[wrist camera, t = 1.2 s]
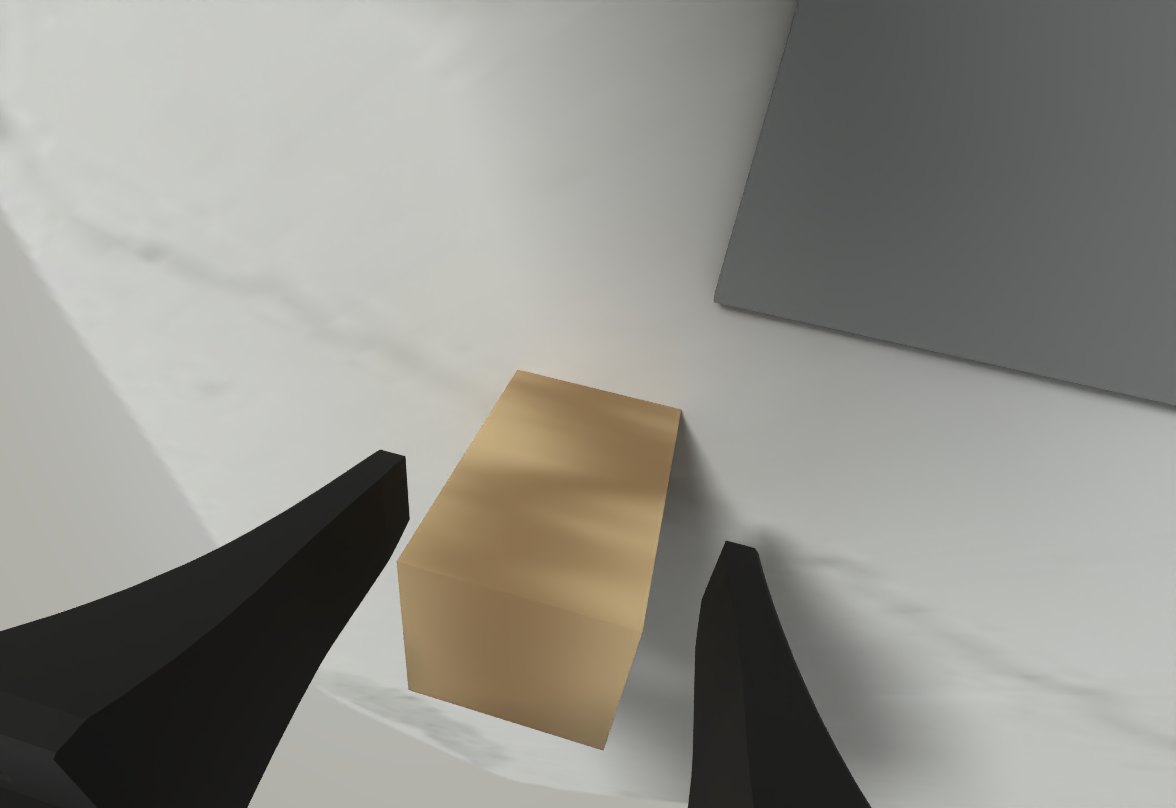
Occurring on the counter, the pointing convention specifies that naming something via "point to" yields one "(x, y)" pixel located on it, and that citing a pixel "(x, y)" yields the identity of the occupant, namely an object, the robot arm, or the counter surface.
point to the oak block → (541, 558)
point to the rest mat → (974, 184)
